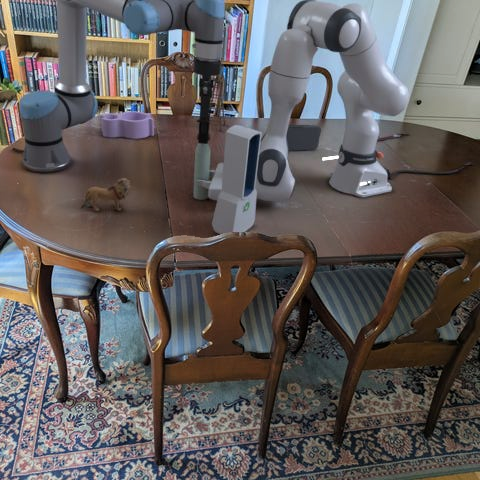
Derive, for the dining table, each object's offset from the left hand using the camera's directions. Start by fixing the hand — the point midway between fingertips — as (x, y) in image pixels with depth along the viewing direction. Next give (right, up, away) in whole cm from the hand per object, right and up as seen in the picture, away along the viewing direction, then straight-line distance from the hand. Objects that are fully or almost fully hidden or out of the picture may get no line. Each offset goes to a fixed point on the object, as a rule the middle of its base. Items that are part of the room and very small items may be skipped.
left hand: (203, 138), depth 140 cm
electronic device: (+9, -27, -5) cm, 29 cm away
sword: (+79, +16, +74) cm, 109 cm away
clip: (-35, +13, +50) cm, 63 cm away
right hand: (-2, -11, +7) cm, 13 cm away
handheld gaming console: (+32, +7, +52) cm, 61 cm away
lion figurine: (-28, -21, -1) cm, 35 cm away
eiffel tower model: (-1, +20, +66) cm, 69 cm away
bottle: (-2, -16, +11) cm, 19 cm away
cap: (0, +1, -1) cm, 1 cm away
